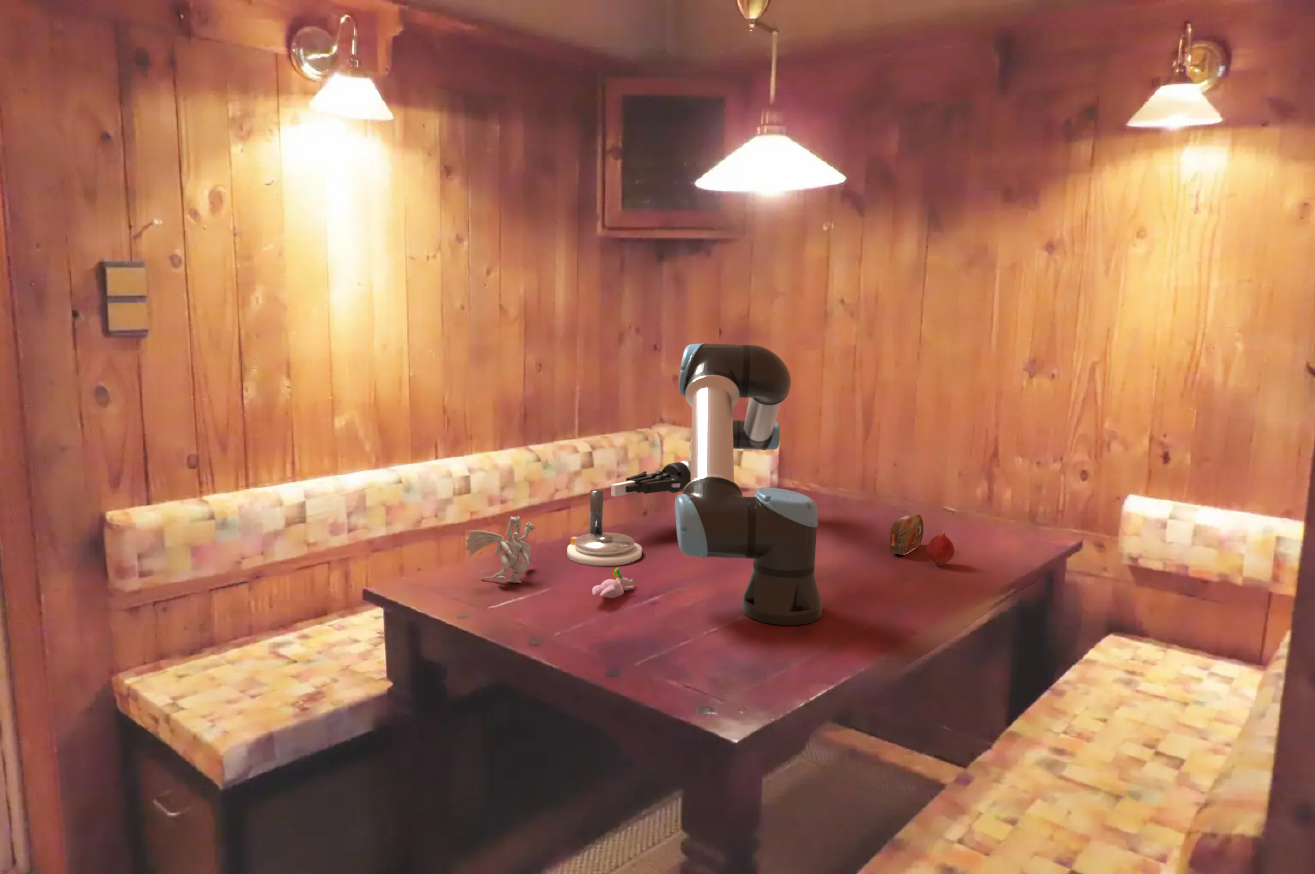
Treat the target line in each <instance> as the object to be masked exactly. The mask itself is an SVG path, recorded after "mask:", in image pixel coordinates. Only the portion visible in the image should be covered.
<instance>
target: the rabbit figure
mask: <svg viewBox="0 0 1315 874" xmlns="http://www.w3.org/2000/svg"><path fill="white" fill-rule="evenodd" d="M612 575H613V577H614V578H615V579H613V578H608V579H605V580H604V581H602V582H601V584H597V585H594V586H593V587H592V589H591V591H592V595H593V596H596V595H597V594H599V593H600V594H599V597H606V598H609V599H610V600H611V599H616V598H619V597H621V596H623V594H624V593H625V591H627V592H628V591H630V590H632V589H634V586H636V583H635V578H631V579H629V578H627V577H624V576H623V575H622V573H621V571H620V567H619V566H618V567H616V568H615V569H614V570H613V573H612Z"/></svg>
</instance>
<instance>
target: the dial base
mask: <svg viewBox="0 0 1315 874" xmlns="http://www.w3.org/2000/svg"><path fill="white" fill-rule="evenodd" d="M577 537H578V536H572V537H570V540H569V541H570V542H569V544H568V546H567V547H566V551H567V552H566V553H567V554H566V555H567V558H568V559H569V560H571V561H572V562H575V563H578V564H581V565H587V566H592V567H593V566H595V567H596V566H597V567H598V566H599V567H613V566H615V567H616V566H622V565H627V564H632V563H635V562H636V560H637V561H638V559H639V560H640V559H641V558H642V555H643V554H642V552H643V548H642V545H640V544H639V543H636V542H635V546H634V550H632V551H631V552H629V553H625V554H621V555H613V556H597V555H589V554H584V553H581V552H579V551H577V550H576V549H575V539H576V538H577ZM634 561H635V562H634ZM631 562H632V563H631Z"/></svg>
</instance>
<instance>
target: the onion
mask: <svg viewBox="0 0 1315 874" xmlns="http://www.w3.org/2000/svg"><path fill="white" fill-rule="evenodd" d="M926 553H927V556H928V557H929V558H930V560H931V561H932V562H934V563H935V564H936V565H937V564H938V565H942V566H944V565H945V564H947V563H948V562H949V561H950V560H952V559H953V557H954V556H955V546H954V543H953V542H952V541H951V539H950V538H949V537H948V536H947V535H946V532H945V531H941V532H940V533H938V534H937V535H936V536H934V537H932V539H931V540H930V541H929V542H928V544H927V548H926ZM938 565H937V566H938Z"/></svg>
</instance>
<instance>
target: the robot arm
mask: <svg viewBox="0 0 1315 874" xmlns="http://www.w3.org/2000/svg"><path fill="white" fill-rule="evenodd" d="M791 384H792V379H791V374H790V371H789V369H788V366H787V365H786V364H785V362H784V360H782V359H781V358H780V357H779V356H778V355H777V354H776V353H775V352H773V351H771V349H768V348H766V347H764V346H762V345H761V346H760V345H757V344H730V343H729V344H728V343H726V344H725V343H706V342H703V343H691V344H688V345H686V347H685V348H684V350H683V354H682V358H681V363H680V372H679V380H678V392H679V395H680V396H681V397H684V398H685V400H686V402H687V404H688V405H689V406H690V407H691V441H690V443H691V444H690V445H691V447H690V448H691V450H690V459H687V460H680V461H678V462H677V461H676V462H672V463H668V464H666V465H665V466H664V467H663V469H662V470H658V471H655V472H653V473H648V471H646V470H644V471H642V472H641V473H638V474H635V475H632V476H629V477H626V478H625V481H623V482H617V483H612V484H610V496H611V497H615V498H616V497H620V496H624V495H631V494H634V493H639V494H640V493H643V494H645V495H647V494H653V493H654V494H655V493H661V492H669V493H672V494H676V493H681V492H682V493H681V494H678V495H677V496H675V498H674V499H675V500H674V511H675V512H674V513H675V514H674V515H675V524H676V525H675V526H676V527H675V528H676V537H677V543H678V548H679V550H680V552H681V553H682V554H683V555H685V556H686V557H696V558H701V559H706V558H721V559H722V558H725V559H749V560H750V559H752V561H753V563H752V572H751V575H750V577H749V580H748V582H747V585H746V588H745V591H744V593H743V596H742V601H741V602H742V603H741V604H742V606H741V610H742V612H743V614H744V615H746V616H747V617H748V618H751V619H753V620H755V621H757V622H762V623H766V624H771V625H777V626H802V625H806V624H811V623H813V622H816V621H818V620H819V619H820V618H821V617H822V616H823V615H822V613H823V610H822V609H823V602H822V598H821V595H820V591H819V587H818V584H817V580H816V577H815V567H816V566H815V565H816V550H817V549H816V547H817V529H818V527H819V522H818V507H817V504H816V502H815V501H814V500H813V499H812V498H810V497H809V496H807V495H805V494H803V493H800V492H796V491H792V490H788V489H782V488H776V487H775V488H774V487H767V488H766V487H762V488H758V489H757V490H756V492H755V494H754V496H743V492H742V489H741V487H740V485H739V484H738V483H736V482H735V471H734V470H735V468H734V467H735V465H734V464H735V462H734V461H735V460H734V450H754V451H755V450H756V451H757V450H759V451H769V450H777V449H778V448H779V445H780V439H781V438H780V436H781V435H780V434H781V430H780V429H781V428H780V424H779V422H777V419H778V415H779V411H780V408H781V405H782V402H783V401H785V400H786V399H787V397H788V396H789V393H790V390H791V387H792V385H791ZM740 398H744V399H747V398H749V399H748V402H747V403H748V404H747V409H746V414H745V418H744V420H743V419H733V418H734V413H733V407H735V406H736V404H737V403H738V401H739V399H740Z"/></svg>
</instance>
